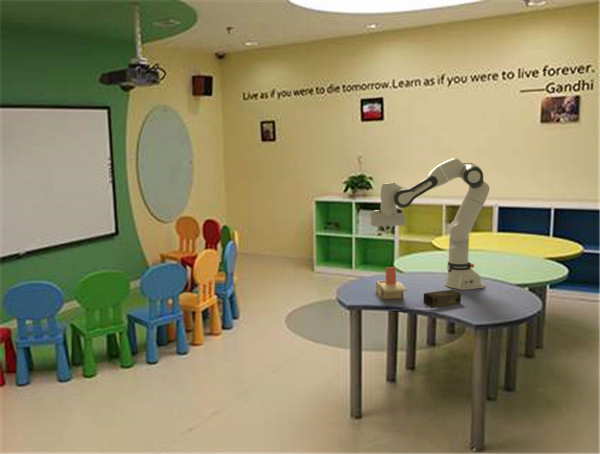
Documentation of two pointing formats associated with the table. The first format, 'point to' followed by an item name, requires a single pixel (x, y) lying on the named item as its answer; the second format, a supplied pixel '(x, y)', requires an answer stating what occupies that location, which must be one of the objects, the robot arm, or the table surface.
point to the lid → (392, 281)
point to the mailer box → (387, 294)
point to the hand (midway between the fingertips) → (387, 233)
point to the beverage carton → (442, 298)
